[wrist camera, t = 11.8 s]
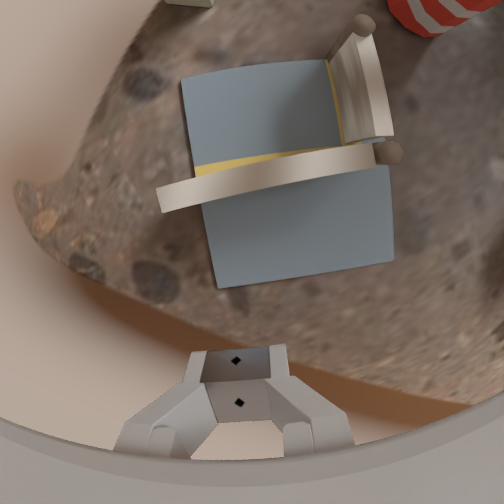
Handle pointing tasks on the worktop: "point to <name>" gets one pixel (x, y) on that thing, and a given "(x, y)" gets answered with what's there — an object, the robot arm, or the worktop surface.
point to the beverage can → (436, 14)
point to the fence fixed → (363, 90)
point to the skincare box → (192, 2)
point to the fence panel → (265, 175)
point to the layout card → (291, 194)
